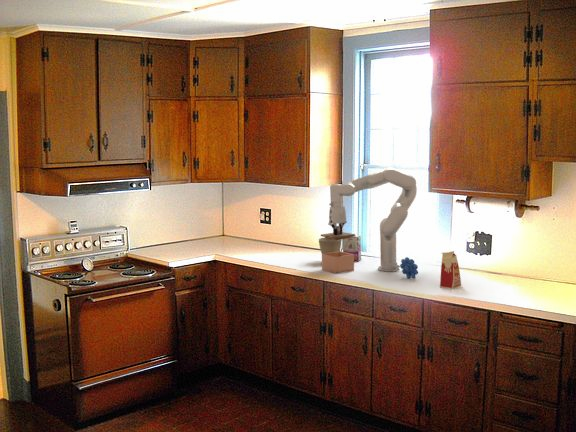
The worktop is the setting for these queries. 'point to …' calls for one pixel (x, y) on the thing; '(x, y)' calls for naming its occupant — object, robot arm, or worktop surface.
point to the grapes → (409, 267)
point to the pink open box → (338, 262)
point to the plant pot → (329, 245)
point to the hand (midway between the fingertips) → (337, 234)
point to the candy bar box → (353, 247)
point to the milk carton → (450, 271)
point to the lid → (338, 235)
